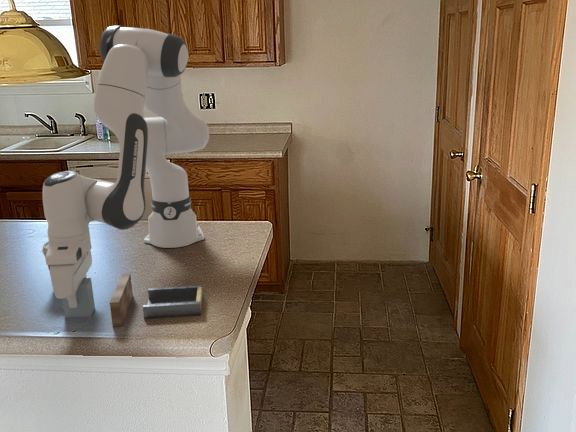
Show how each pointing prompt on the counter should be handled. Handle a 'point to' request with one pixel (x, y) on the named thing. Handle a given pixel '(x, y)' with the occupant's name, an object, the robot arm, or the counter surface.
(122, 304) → the brown wooden board
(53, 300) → the counter surface
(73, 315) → the block
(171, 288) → the keeper
